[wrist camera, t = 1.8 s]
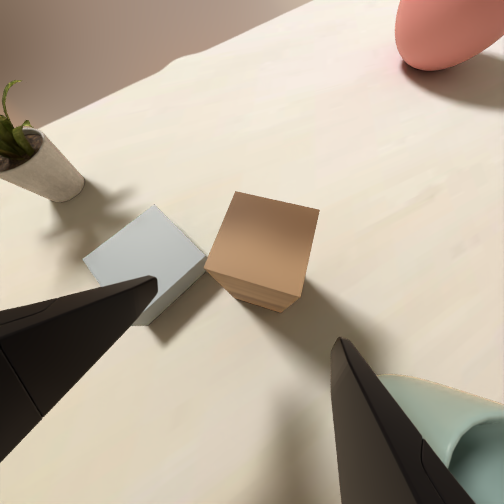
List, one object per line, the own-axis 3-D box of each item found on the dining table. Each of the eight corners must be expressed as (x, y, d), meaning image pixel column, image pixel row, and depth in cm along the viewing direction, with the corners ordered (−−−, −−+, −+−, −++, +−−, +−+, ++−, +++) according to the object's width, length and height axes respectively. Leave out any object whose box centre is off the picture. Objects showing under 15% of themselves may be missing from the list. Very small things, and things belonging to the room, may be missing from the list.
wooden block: (280, 312, 19) (300, 297, 9) (234, 298, 20) (203, 268, 10) (292, 267, 21) (319, 209, 11) (248, 255, 22) (235, 191, 11)
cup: (440, 387, 16) (680, 469, 7) (436, 507, 14) (808, 895, 4) (346, 350, 18) (440, 376, 8) (327, 452, 15) (431, 656, 6)
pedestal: (147, 325, 19) (127, 325, 17) (105, 267, 22) (82, 259, 19) (213, 264, 21) (205, 255, 19) (167, 218, 24) (154, 204, 21)
